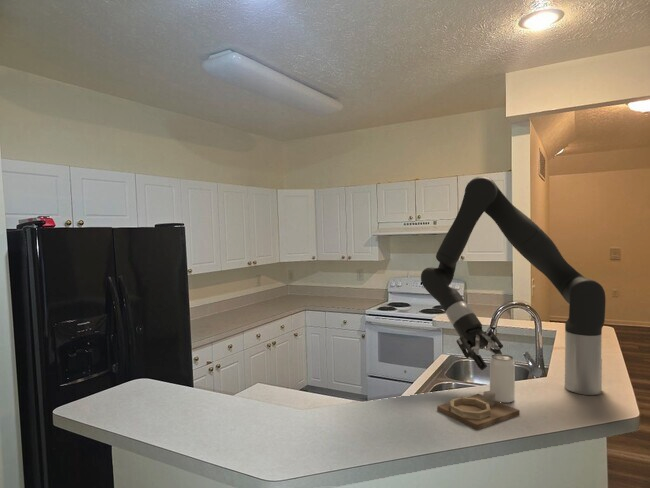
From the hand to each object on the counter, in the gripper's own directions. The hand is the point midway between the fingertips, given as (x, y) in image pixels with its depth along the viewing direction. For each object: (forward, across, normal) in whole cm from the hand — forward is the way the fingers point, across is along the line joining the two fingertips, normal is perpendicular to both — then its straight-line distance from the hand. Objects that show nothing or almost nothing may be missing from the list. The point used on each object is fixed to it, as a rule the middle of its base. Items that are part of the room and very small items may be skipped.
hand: (494, 366), depth 122 cm
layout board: (+10, -13, +3) cm, 16 cm away
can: (+8, 0, +4) cm, 9 cm away
